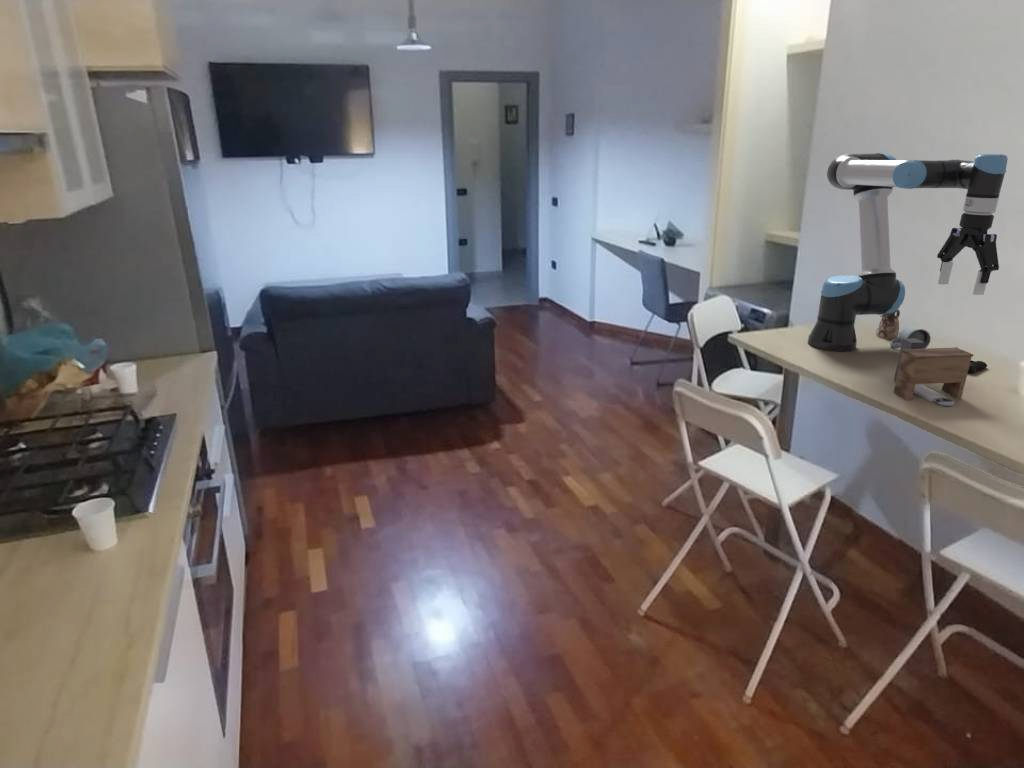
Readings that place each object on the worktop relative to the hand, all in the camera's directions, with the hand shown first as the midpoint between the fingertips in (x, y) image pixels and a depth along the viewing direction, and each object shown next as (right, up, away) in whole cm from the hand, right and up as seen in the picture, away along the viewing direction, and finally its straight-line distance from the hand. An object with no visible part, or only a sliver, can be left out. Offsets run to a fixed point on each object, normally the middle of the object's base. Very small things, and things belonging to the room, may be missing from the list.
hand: (959, 289), depth 194 cm
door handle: (+11, -21, +23) cm, 33 cm away
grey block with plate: (-13, -29, -2) cm, 32 cm away
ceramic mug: (+6, -15, +36) cm, 40 cm away
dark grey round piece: (-12, -33, -11) cm, 37 cm away
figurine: (+7, -10, +50) cm, 51 cm away
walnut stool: (-12, -30, -5) cm, 33 cm away
